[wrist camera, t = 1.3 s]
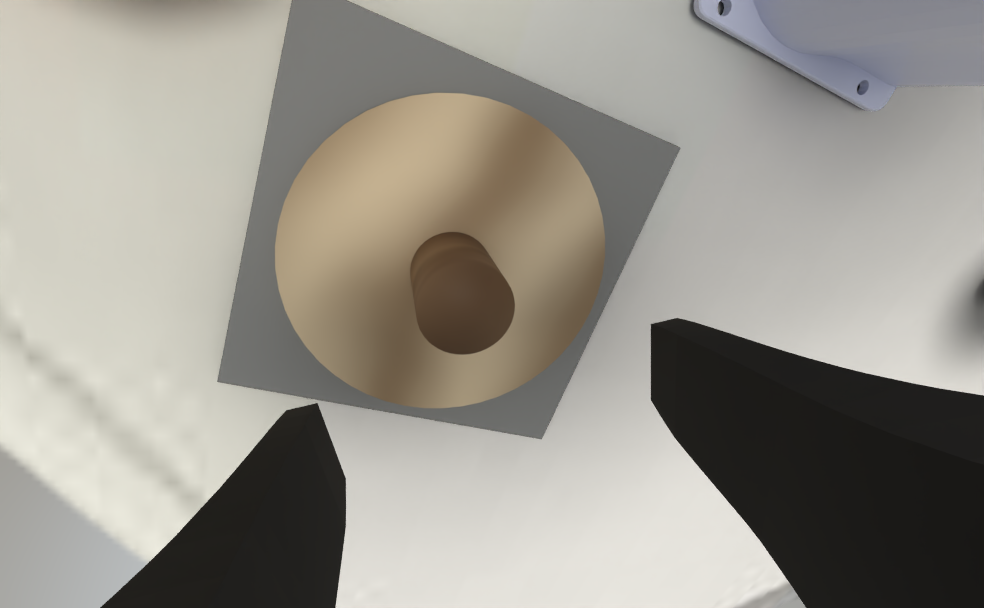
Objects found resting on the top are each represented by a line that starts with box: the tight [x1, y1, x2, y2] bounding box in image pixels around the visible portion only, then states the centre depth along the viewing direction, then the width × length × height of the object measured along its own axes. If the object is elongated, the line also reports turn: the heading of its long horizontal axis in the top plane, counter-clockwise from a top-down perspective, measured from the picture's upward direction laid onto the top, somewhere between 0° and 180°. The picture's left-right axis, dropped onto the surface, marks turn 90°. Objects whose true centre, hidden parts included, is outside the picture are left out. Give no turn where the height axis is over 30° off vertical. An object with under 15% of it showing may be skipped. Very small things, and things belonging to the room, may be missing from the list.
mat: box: [217, 0, 680, 439], centre depth 18 cm, size 14×14×1 cm
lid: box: [275, 93, 605, 408], centre depth 16 cm, size 12×12×4 cm
